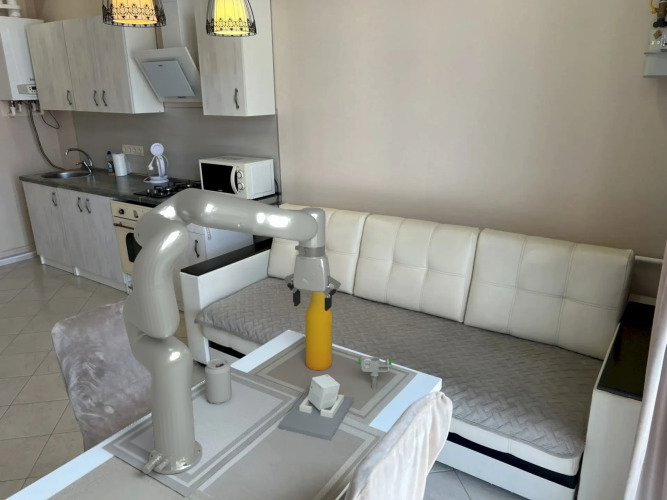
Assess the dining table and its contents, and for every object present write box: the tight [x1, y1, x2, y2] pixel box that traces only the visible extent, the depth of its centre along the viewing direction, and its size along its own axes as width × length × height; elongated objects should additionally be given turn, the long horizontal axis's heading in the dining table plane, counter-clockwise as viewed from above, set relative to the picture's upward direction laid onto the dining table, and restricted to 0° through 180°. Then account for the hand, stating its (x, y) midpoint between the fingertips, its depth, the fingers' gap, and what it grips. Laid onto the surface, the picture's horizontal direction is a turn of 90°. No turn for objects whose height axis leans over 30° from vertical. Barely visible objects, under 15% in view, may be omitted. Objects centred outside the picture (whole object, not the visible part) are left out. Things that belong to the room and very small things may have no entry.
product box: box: [308, 373, 341, 410], centre depth 141 cm, size 6×6×7 cm
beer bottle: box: [304, 291, 333, 371], centre depth 165 cm, size 9×9×29 cm
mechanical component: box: [357, 356, 392, 390], centre depth 153 cm, size 3×10×10 cm, turn 89°
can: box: [204, 357, 233, 404], centre depth 146 cm, size 8×8×12 cm
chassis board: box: [278, 388, 355, 442], centre depth 140 cm, size 20×15×3 cm
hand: (312, 307), depth 144 cm, fingers open, 9 cm apart
